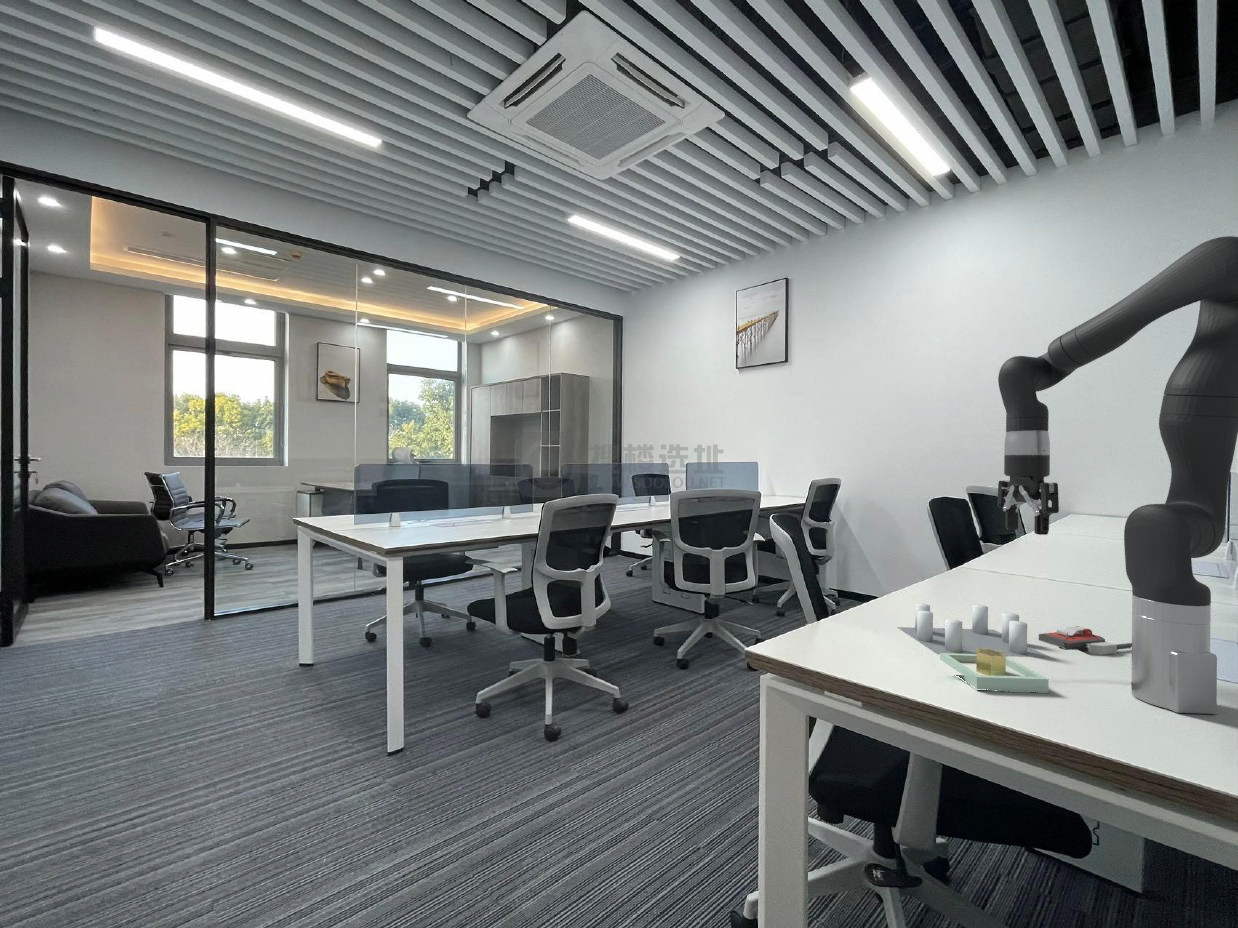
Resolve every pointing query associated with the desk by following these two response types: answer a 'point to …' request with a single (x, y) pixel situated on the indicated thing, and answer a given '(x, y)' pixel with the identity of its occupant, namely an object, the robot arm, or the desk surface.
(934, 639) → the grey pegged base
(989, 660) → the khaki cube
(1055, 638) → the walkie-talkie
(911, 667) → the desk surface
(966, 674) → the tray
